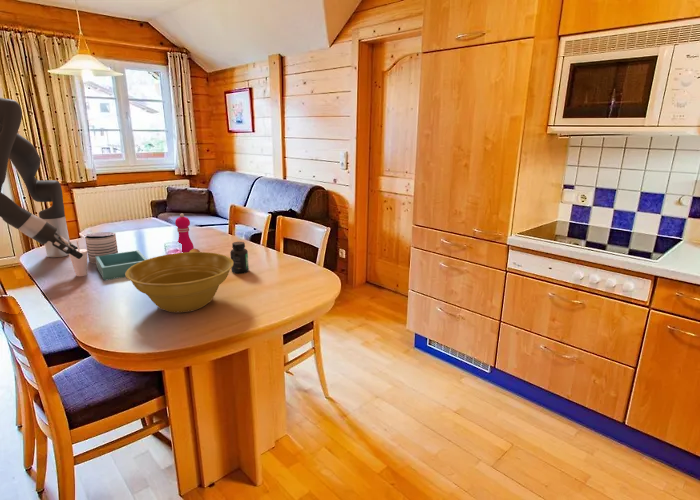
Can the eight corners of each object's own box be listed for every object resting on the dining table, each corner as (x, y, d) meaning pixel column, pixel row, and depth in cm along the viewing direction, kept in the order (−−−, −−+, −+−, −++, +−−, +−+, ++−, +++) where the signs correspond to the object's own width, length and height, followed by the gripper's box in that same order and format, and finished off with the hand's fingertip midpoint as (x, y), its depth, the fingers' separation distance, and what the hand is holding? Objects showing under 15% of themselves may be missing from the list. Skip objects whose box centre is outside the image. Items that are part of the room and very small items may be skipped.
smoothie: (82, 278, 158) (76, 242, 154) (67, 276, 159) (61, 241, 156) (95, 272, 164) (89, 238, 160) (81, 271, 165) (75, 237, 162)
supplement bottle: (252, 271, 169) (250, 243, 166) (237, 275, 164) (235, 246, 161) (242, 267, 174) (241, 239, 170) (228, 271, 169) (226, 242, 165)
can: (82, 261, 178) (78, 234, 174) (106, 254, 188) (102, 229, 184) (101, 265, 174) (97, 237, 170) (125, 257, 184) (121, 231, 180)
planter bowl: (126, 334, 116) (120, 289, 112) (133, 293, 144) (128, 256, 141) (243, 316, 129) (241, 275, 125) (228, 282, 157) (226, 248, 153)
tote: (97, 267, 170) (95, 256, 169) (139, 261, 179) (138, 250, 178) (104, 280, 156) (102, 267, 155) (149, 272, 166) (148, 260, 164)
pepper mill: (197, 255, 188) (194, 212, 183) (187, 260, 182) (182, 215, 176) (184, 254, 191) (180, 211, 185) (173, 258, 184) (169, 214, 178)
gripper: (46, 224, 145) (89, 250, 155) (44, 217, 156) (84, 242, 166) (30, 241, 144) (75, 266, 154) (29, 233, 155) (71, 257, 164)
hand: (80, 254), depth 160 cm, fingers open, 8 cm apart
